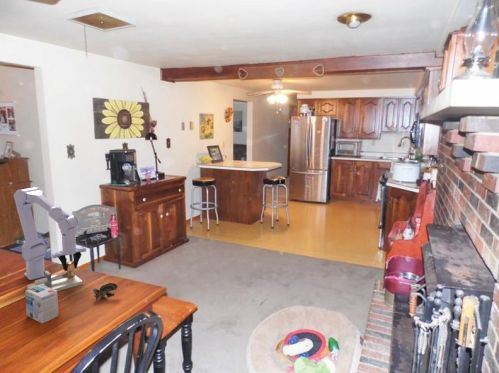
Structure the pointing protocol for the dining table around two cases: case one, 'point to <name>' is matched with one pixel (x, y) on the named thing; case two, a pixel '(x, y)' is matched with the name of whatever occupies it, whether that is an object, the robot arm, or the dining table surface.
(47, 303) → the light bulb box
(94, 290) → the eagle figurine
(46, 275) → the eye stand
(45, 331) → the dining table surface
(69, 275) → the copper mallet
